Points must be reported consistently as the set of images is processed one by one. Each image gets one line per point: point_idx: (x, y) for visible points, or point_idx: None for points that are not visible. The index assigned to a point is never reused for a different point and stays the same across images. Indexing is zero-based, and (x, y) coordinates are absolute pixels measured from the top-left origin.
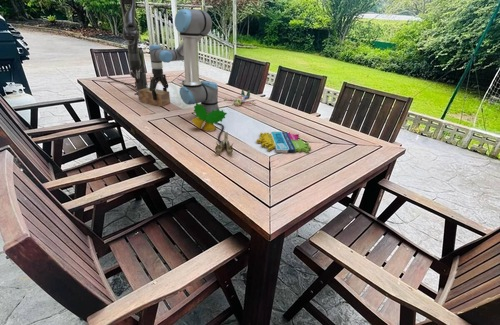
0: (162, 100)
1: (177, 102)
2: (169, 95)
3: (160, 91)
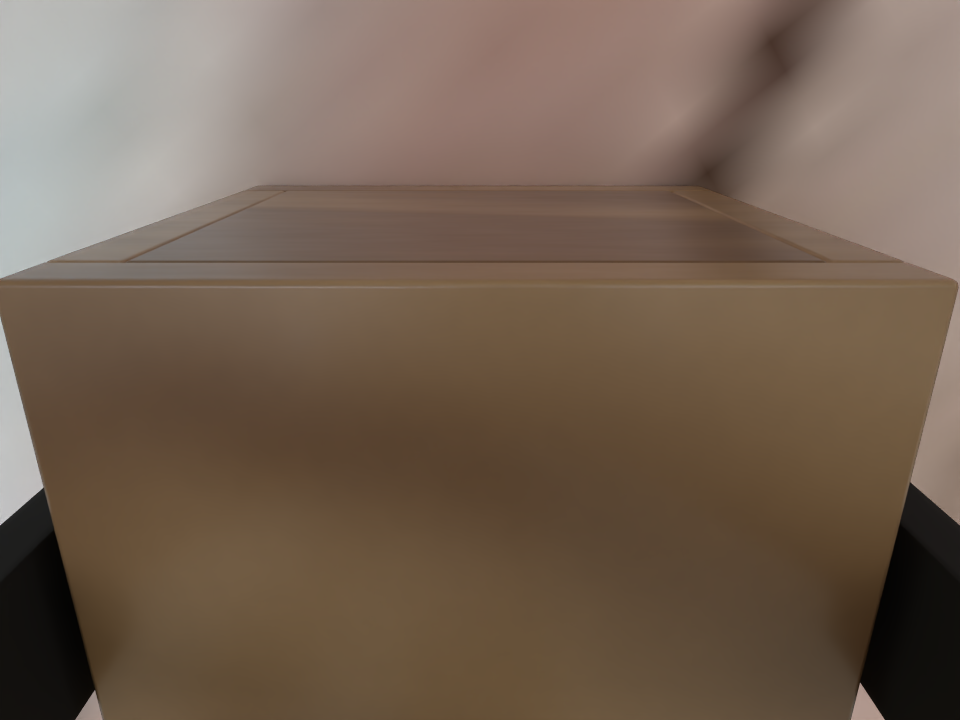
0: (671, 213)
1: (10, 35)
2: (133, 232)
3: (370, 673)
